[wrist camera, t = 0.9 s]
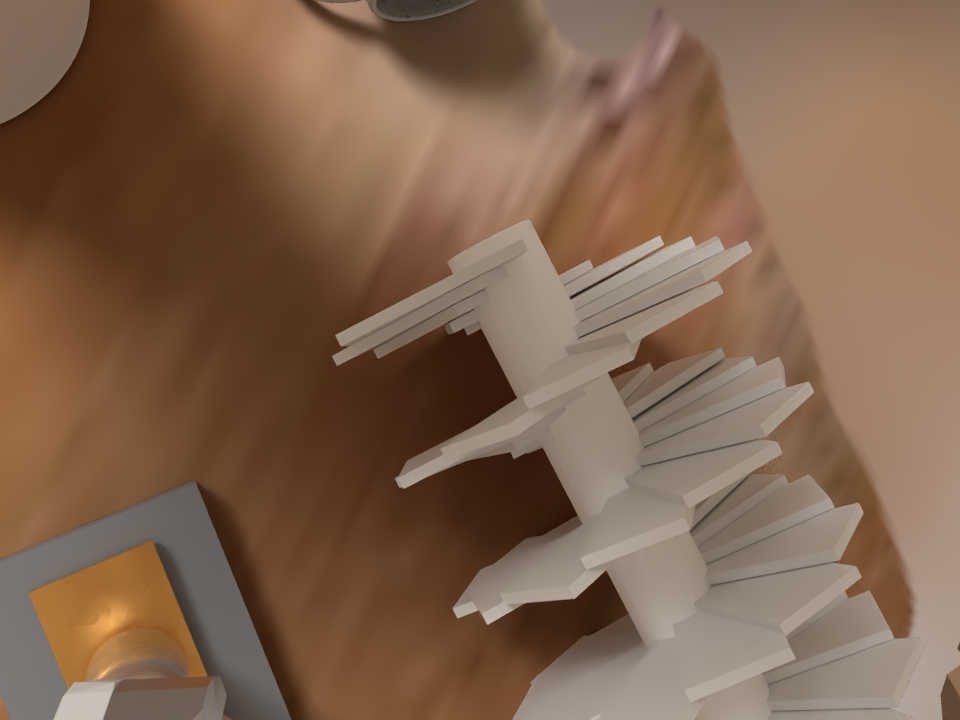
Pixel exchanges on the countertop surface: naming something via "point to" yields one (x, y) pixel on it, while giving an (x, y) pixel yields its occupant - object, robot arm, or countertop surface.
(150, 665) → the metal post on plate
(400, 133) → the countertop surface
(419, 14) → the ceramic mug
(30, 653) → the board
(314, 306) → the countertop surface
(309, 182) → the countertop surface
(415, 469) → the spiral staircase
